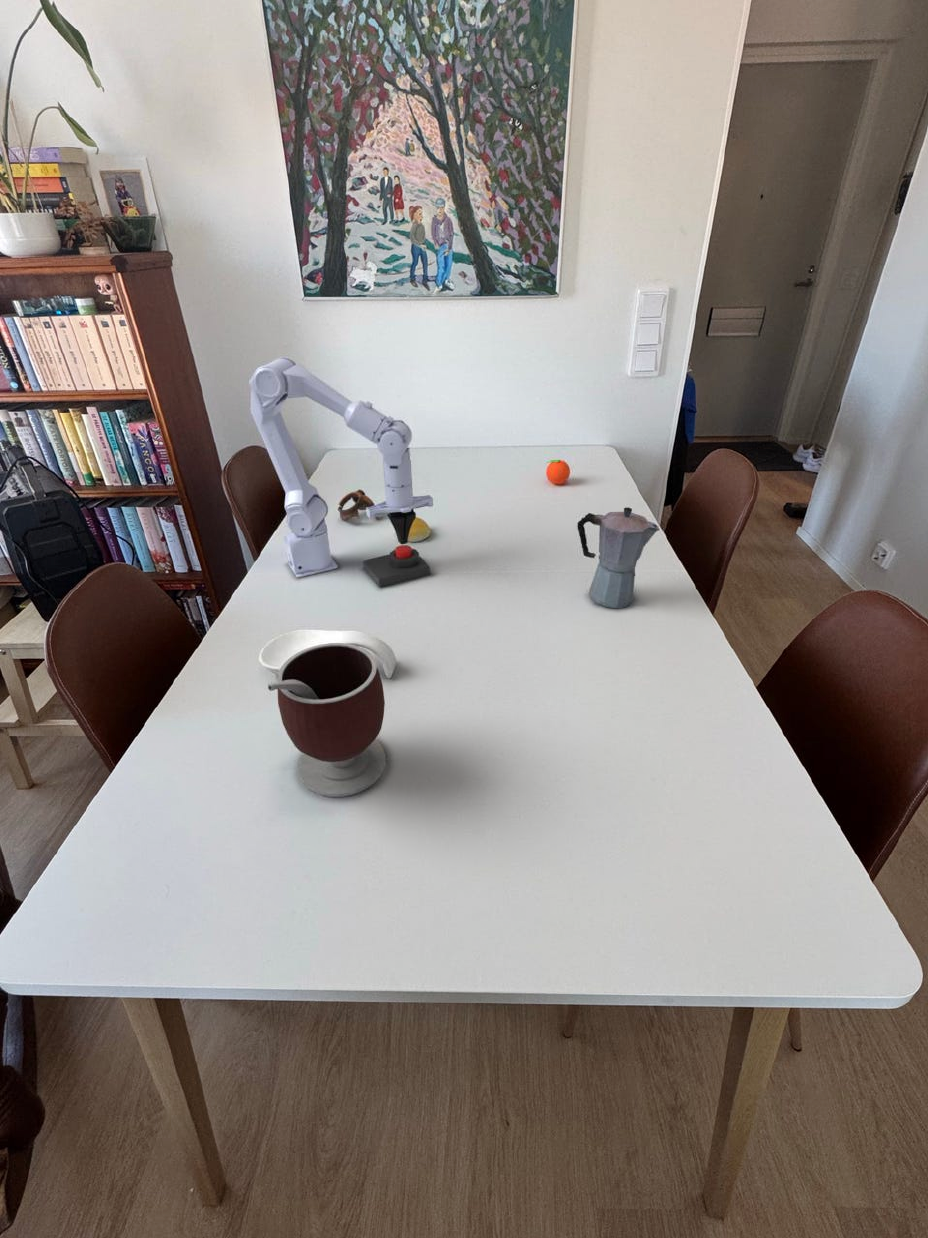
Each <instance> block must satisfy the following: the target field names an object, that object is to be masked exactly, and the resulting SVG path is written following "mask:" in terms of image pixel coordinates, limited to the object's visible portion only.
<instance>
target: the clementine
mask: <svg viewBox="0 0 928 1238" xmlns="http://www.w3.org/2000/svg"><path fill="white" fill-rule="evenodd" d="M546 464H548V465H547V467H546V470H545V475H546V478H547V479H548V481H549V482H550V483H552V484H553V485H562V484H564V483H566V482H567V480H568V479H569V477H570V475H571V467H570V465H569V464H568V462H566V461H564V460H562V459H552V460H549V461H547V462H546Z"/></svg>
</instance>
